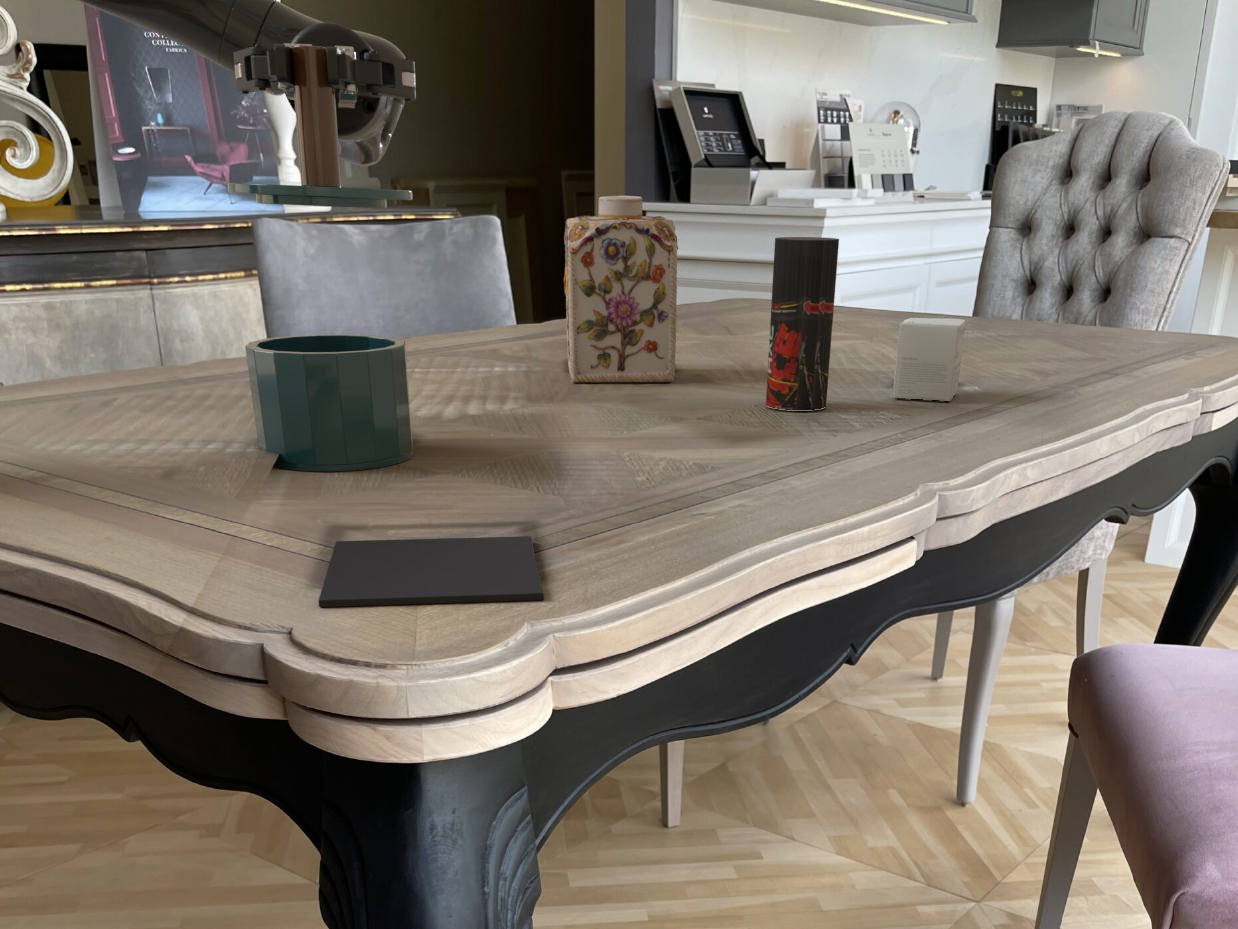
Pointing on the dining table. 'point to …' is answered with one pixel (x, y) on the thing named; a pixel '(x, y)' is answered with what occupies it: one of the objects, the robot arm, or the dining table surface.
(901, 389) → the product box
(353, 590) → the mat
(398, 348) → the canister
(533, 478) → the dining table surface
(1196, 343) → the dining table surface
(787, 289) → the deodorant
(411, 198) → the lid
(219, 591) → the dining table surface
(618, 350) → the decorative jar
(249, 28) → the robot arm
